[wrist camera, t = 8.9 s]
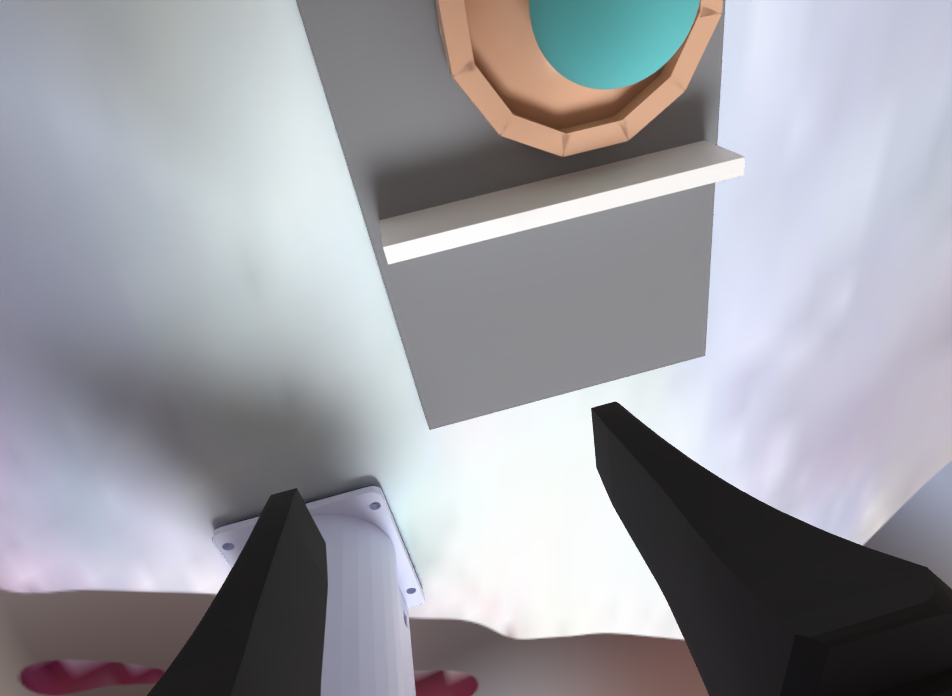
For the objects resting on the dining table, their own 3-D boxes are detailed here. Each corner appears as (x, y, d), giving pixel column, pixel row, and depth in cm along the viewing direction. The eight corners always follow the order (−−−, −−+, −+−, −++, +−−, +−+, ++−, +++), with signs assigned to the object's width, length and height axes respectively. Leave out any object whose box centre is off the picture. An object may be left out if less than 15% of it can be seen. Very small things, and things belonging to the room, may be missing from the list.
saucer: (697, 113, 20) (716, 119, 19) (465, 169, 19) (471, 179, 18) (709, -216, 15) (735, -232, 14) (403, -152, 14) (407, -163, 13)
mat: (700, 351, 26) (705, 355, 26) (428, 424, 25) (429, 429, 25) (728, -208, 15) (737, -212, 15) (263, -110, 15) (261, -112, 14)
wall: (703, 157, 21) (743, 175, 18) (384, 236, 20) (387, 264, 18) (704, 140, 20) (745, 156, 18) (379, 220, 20) (382, 247, 17)
